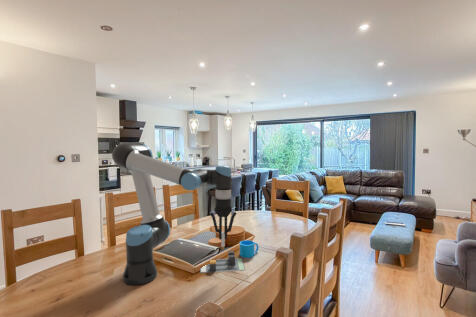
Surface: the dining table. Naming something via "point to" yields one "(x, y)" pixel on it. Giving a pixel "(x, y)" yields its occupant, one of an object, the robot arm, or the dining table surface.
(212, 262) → the breaker
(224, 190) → the robot arm
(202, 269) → the panel
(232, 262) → the breaker
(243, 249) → the mug
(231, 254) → the block
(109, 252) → the dining table surface
